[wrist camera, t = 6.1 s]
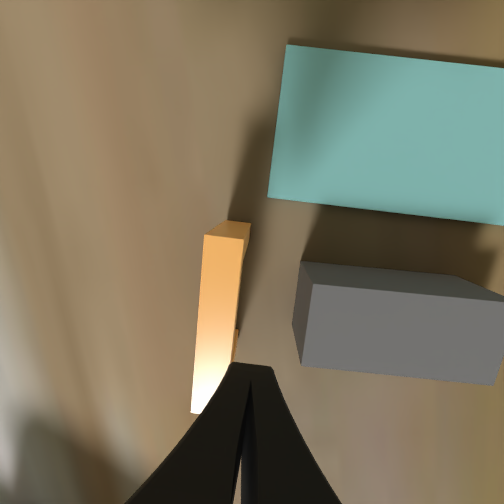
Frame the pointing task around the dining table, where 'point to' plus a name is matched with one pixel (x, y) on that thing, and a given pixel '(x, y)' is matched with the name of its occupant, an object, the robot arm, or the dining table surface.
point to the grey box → (398, 323)
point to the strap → (218, 307)
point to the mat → (390, 135)
